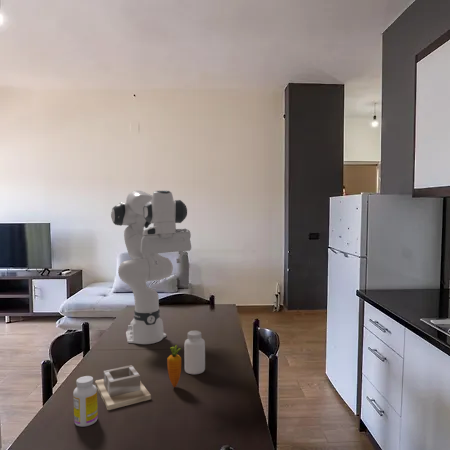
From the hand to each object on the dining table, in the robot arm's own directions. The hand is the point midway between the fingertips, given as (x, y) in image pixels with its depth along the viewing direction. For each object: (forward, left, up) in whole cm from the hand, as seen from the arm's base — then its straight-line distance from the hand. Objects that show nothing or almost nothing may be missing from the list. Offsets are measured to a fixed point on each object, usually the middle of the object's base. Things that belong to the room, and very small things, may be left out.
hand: (167, 264), depth 157 cm
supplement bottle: (+29, -37, -41) cm, 62 cm away
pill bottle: (+13, +6, -41) cm, 43 cm away
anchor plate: (+16, -23, -40) cm, 49 cm away
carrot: (+22, -6, -41) cm, 46 cm away
